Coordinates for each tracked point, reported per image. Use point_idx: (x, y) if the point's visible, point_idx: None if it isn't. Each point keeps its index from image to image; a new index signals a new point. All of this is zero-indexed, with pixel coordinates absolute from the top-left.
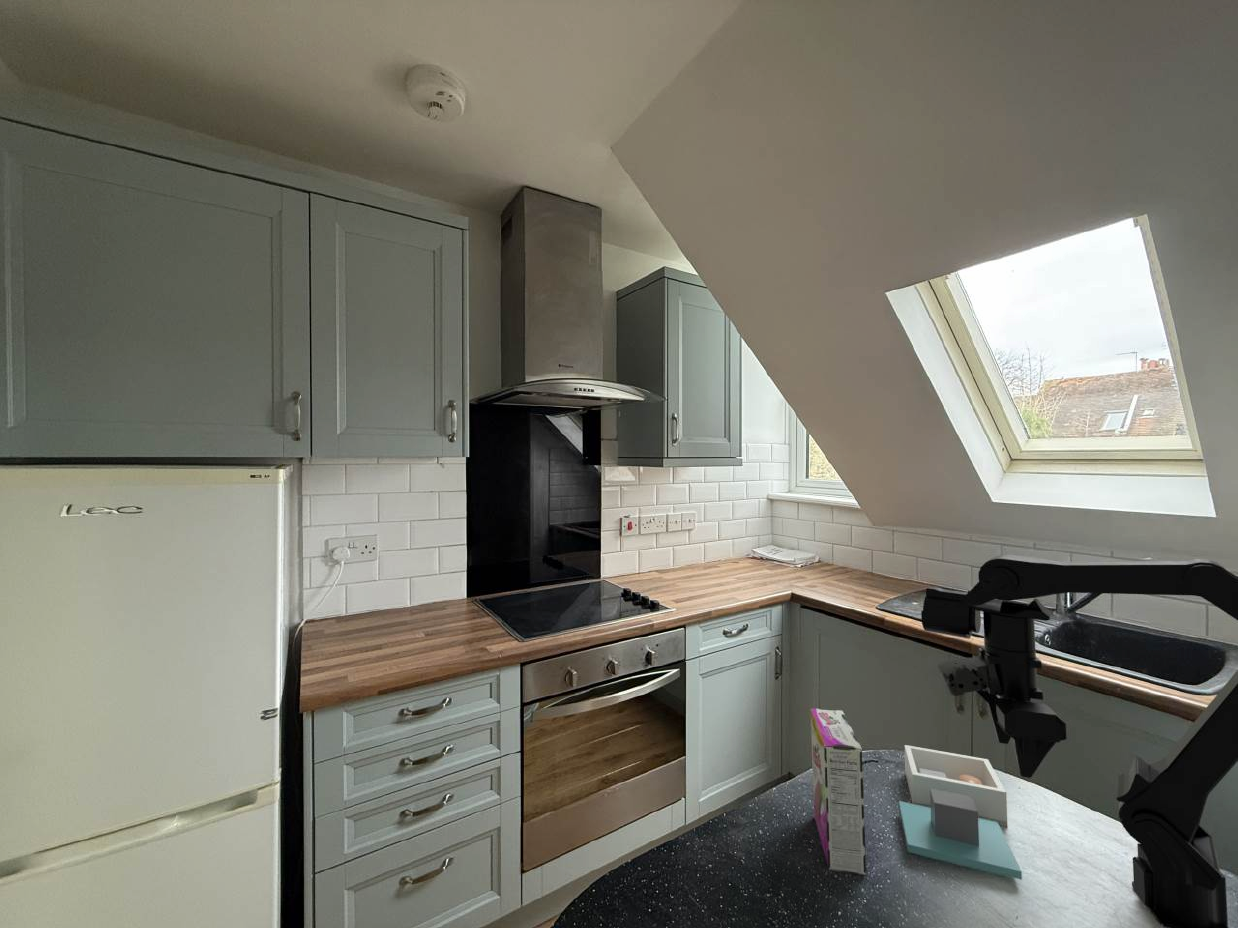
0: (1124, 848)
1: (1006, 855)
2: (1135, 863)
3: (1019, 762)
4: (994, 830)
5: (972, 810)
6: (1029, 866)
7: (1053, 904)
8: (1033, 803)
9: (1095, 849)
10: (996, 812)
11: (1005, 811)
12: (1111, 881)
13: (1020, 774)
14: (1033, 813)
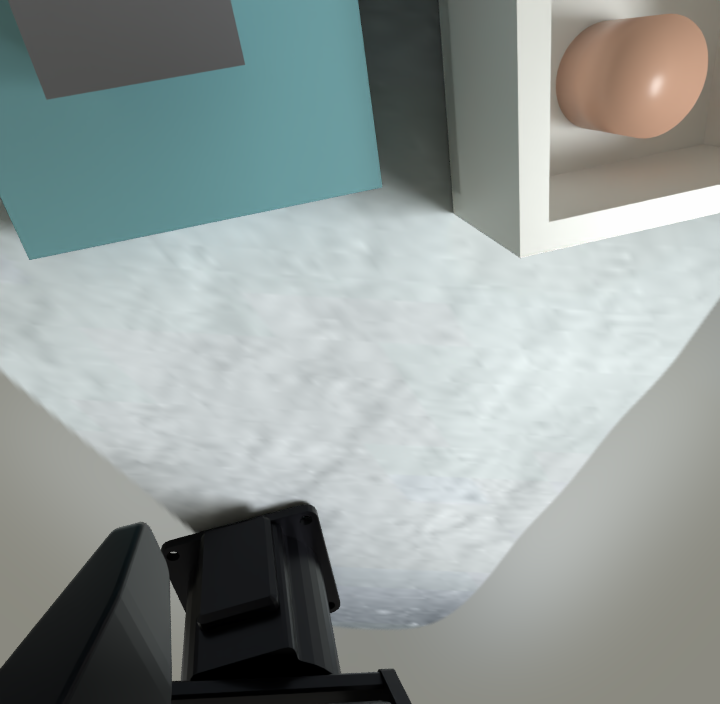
0: (494, 496)
1: (115, 208)
2: (252, 593)
3: (10, 668)
4: (296, 169)
5: (32, 60)
6: (223, 270)
7: (35, 327)
8: (654, 305)
9: (452, 441)
10: (470, 185)
11: (478, 224)
12: (302, 464)
13: (114, 532)
14: (588, 301)
